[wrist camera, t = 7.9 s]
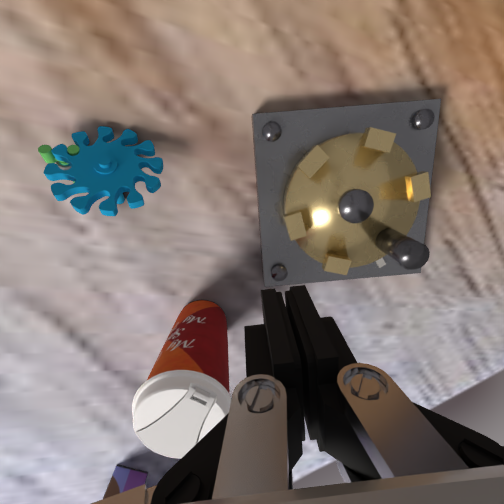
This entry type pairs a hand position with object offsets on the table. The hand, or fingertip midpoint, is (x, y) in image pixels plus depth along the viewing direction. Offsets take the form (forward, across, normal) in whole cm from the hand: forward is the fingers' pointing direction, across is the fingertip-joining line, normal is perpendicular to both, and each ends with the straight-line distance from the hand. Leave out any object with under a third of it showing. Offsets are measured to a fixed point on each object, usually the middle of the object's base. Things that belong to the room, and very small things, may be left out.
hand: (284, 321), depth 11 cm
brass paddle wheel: (+20, -9, 0) cm, 22 cm away
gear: (+23, +14, -5) cm, 28 cm away
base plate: (+23, -10, 0) cm, 25 cm away
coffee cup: (+22, +8, +14) cm, 28 cm away
